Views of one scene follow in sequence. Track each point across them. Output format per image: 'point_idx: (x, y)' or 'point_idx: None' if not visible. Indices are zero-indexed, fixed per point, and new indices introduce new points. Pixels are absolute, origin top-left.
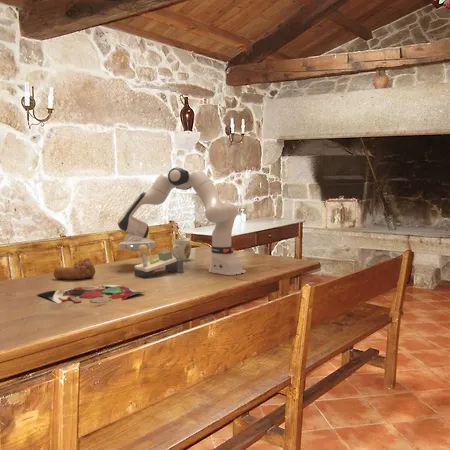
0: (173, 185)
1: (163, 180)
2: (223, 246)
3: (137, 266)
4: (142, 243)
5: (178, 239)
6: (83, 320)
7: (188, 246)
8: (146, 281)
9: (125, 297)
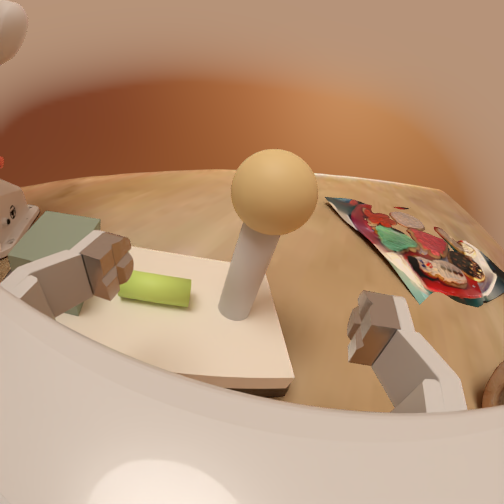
0: None
1: None
2: None
3: (280, 348)
4: (76, 337)
5: None
6: (408, 192)
7: None
8: (277, 271)
9: (365, 206)
